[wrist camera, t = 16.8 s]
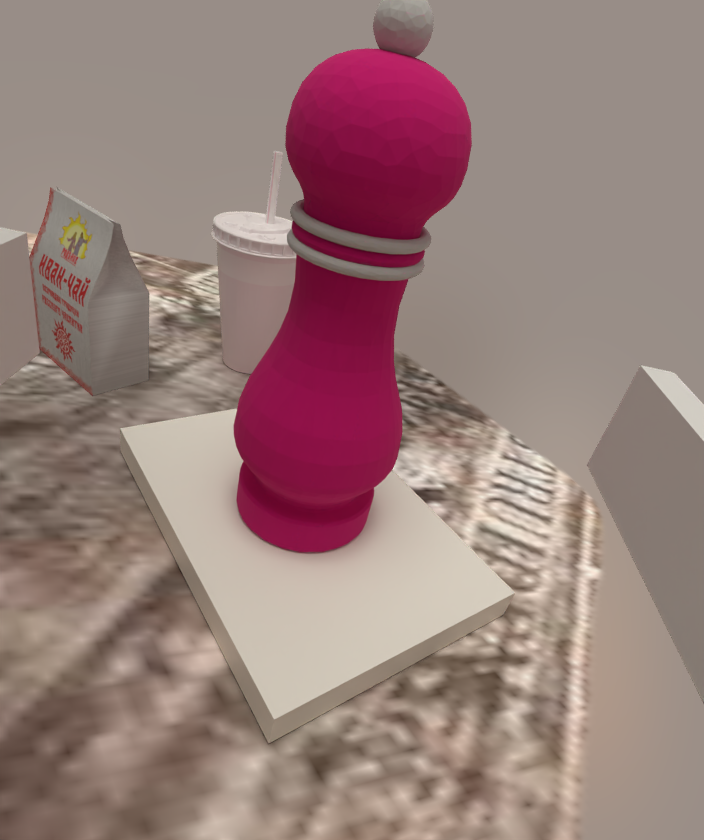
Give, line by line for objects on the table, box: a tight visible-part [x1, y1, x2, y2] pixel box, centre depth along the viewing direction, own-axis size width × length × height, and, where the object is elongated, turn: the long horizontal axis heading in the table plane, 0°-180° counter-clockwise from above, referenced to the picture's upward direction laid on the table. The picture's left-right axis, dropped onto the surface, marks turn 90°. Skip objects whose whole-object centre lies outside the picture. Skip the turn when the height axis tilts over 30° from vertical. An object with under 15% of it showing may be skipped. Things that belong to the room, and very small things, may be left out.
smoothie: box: [211, 151, 296, 374], centre depth 37 cm, size 6×6×14 cm
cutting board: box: [120, 409, 515, 744], centre depth 27 cm, size 17×12×2 cm
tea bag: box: [29, 188, 149, 396], centre depth 34 cm, size 4×7×10 cm, turn 49°
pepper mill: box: [234, 0, 472, 552], centre depth 22 cm, size 7×7×20 cm
